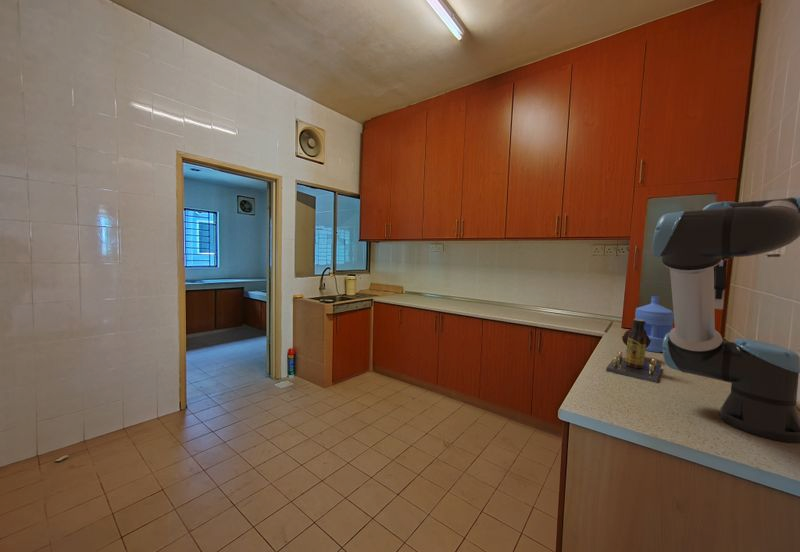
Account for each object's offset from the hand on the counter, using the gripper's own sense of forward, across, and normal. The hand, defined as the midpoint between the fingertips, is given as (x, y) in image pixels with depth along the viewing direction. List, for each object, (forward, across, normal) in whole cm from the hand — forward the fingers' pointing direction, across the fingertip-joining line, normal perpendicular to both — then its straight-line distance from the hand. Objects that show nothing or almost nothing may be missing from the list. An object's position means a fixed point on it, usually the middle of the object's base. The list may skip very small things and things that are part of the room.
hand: (713, 307), depth 109 cm
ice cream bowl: (+29, +28, +21) cm, 46 cm away
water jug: (+29, +56, +16) cm, 65 cm away
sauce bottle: (+28, +7, +21) cm, 36 cm away
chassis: (+30, +7, +21) cm, 37 cm away
